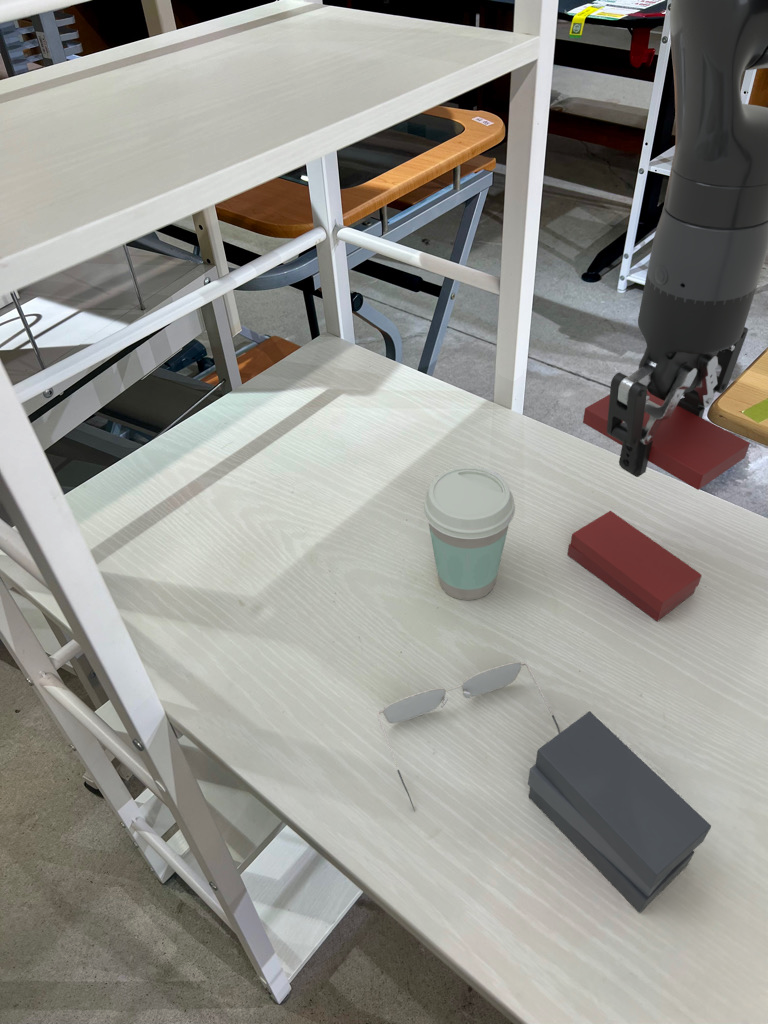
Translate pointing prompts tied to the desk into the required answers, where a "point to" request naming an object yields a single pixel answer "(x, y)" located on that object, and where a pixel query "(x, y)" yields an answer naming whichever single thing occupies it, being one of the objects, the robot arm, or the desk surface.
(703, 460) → the thin oxblood book
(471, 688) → the eyeglasses
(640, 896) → the grey books
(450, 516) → the coffee cup
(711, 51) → the robot arm
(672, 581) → the oxblood books
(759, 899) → the desk surface
